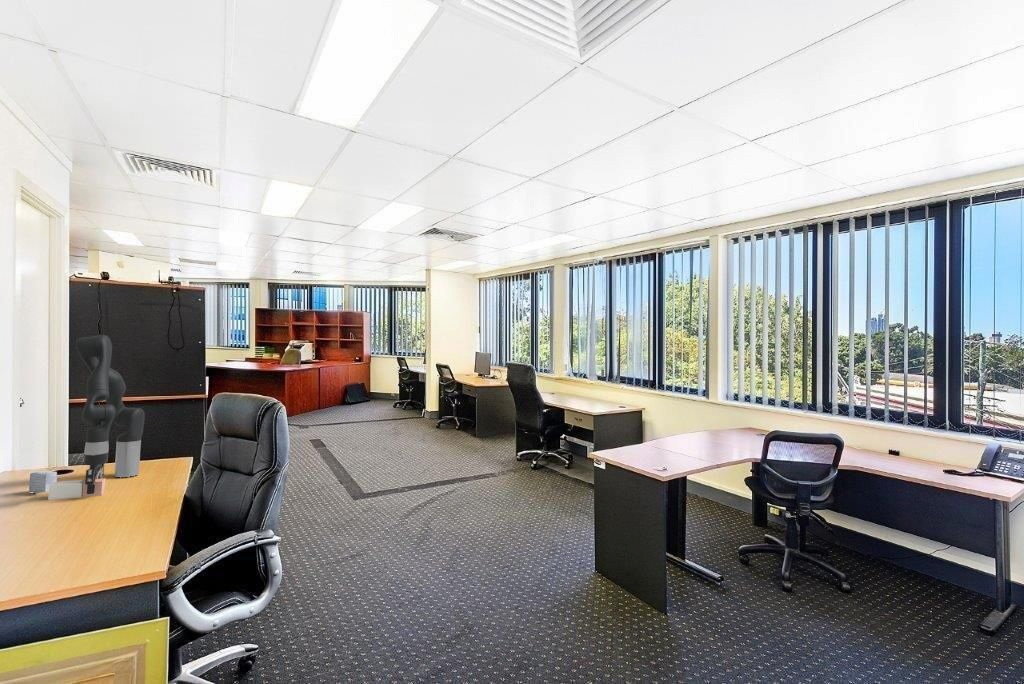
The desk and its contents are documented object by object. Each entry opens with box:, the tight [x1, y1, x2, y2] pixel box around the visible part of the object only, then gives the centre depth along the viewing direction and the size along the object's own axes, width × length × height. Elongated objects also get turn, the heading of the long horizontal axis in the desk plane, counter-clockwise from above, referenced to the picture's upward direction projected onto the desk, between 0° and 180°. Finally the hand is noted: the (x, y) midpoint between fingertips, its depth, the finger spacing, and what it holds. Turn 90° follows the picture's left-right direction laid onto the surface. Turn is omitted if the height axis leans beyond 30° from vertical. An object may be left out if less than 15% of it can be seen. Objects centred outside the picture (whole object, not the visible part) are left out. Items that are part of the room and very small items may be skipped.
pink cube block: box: [81, 477, 107, 498], centre depth 191 cm, size 5×6×6 cm
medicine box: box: [28, 470, 58, 494], centre depth 195 cm, size 8×4×9 cm, turn 84°
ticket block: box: [47, 478, 86, 501], centre depth 187 cm, size 5×10×6 cm, turn 119°
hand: (93, 490), depth 191 cm, fingers open, 8 cm apart
